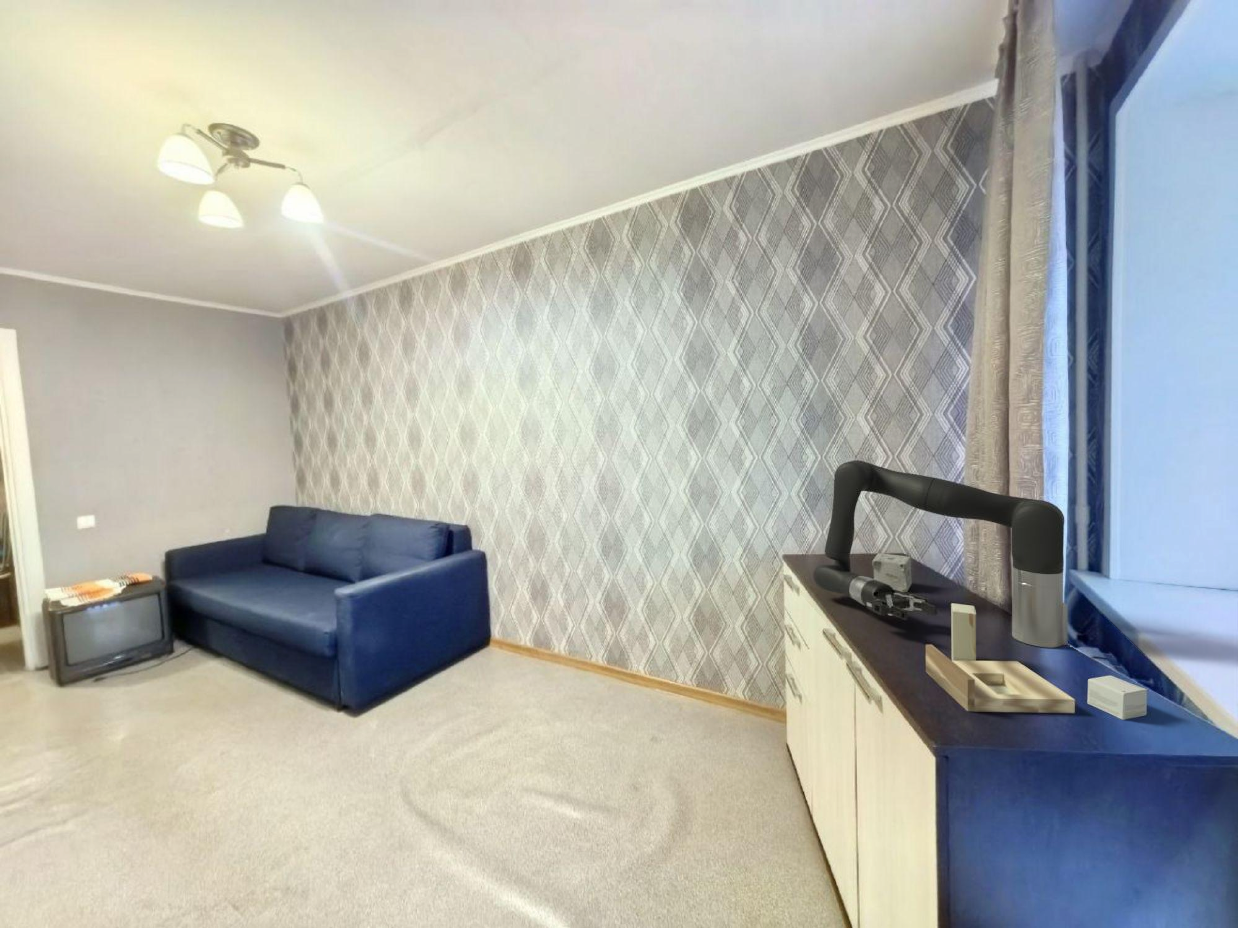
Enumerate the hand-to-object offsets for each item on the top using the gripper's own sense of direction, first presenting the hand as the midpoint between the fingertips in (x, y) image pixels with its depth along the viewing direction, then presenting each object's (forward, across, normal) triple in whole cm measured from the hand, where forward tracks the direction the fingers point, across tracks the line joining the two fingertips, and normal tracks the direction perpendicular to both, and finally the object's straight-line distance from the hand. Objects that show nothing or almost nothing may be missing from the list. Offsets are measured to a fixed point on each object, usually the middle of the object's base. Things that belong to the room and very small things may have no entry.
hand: (921, 613), depth 120 cm
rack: (+22, -5, +7) cm, 24 cm away
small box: (+34, +9, +7) cm, 35 cm away
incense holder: (-35, +24, +8) cm, 44 cm away
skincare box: (+11, 0, +7) cm, 13 cm away
